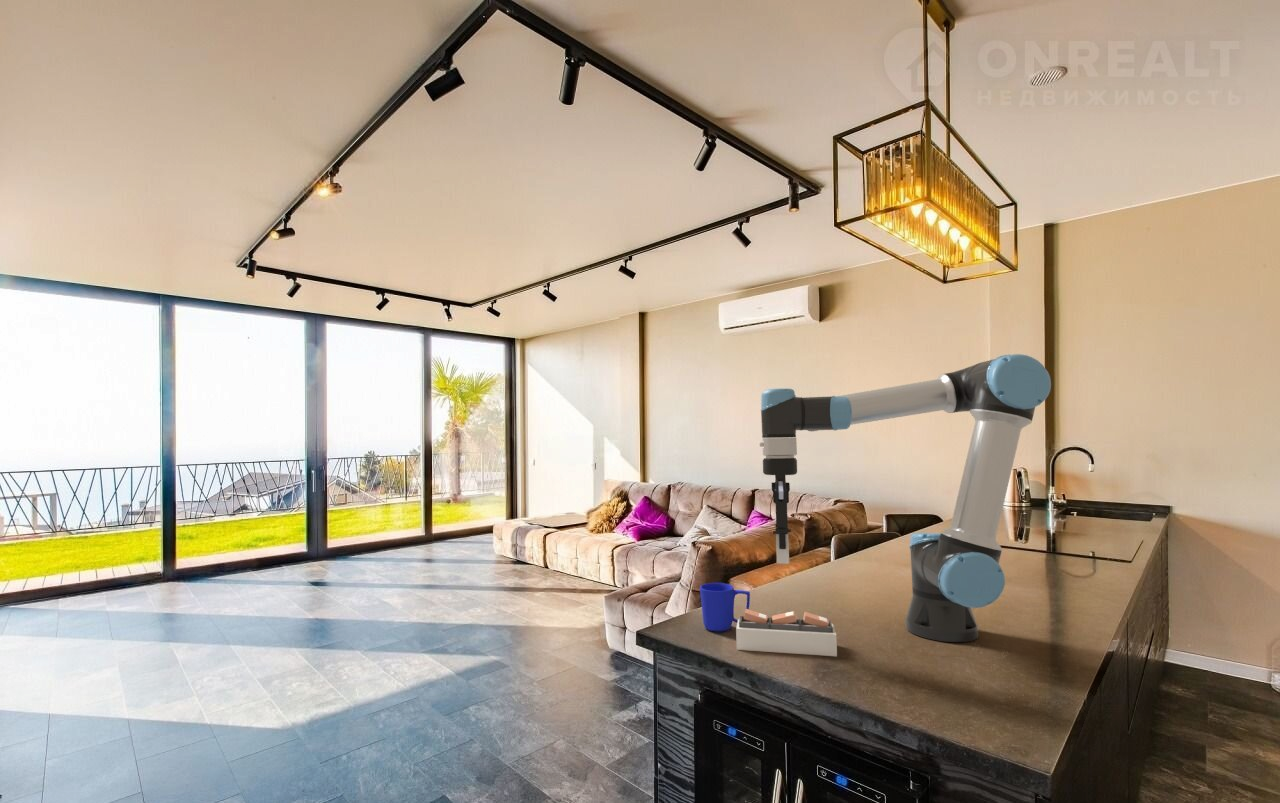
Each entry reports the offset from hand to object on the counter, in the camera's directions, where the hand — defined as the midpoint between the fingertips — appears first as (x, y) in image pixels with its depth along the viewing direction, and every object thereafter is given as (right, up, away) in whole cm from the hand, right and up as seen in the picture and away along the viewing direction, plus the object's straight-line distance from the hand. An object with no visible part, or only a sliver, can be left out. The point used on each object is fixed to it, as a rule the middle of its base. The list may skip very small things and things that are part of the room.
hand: (782, 562), depth 128 cm
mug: (-11, -20, +12) cm, 25 cm away
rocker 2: (0, -13, -1) cm, 13 cm away
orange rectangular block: (+7, -13, -2) cm, 14 cm away
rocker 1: (-6, -13, +1) cm, 14 cm away
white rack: (0, -18, -1) cm, 18 cm away
